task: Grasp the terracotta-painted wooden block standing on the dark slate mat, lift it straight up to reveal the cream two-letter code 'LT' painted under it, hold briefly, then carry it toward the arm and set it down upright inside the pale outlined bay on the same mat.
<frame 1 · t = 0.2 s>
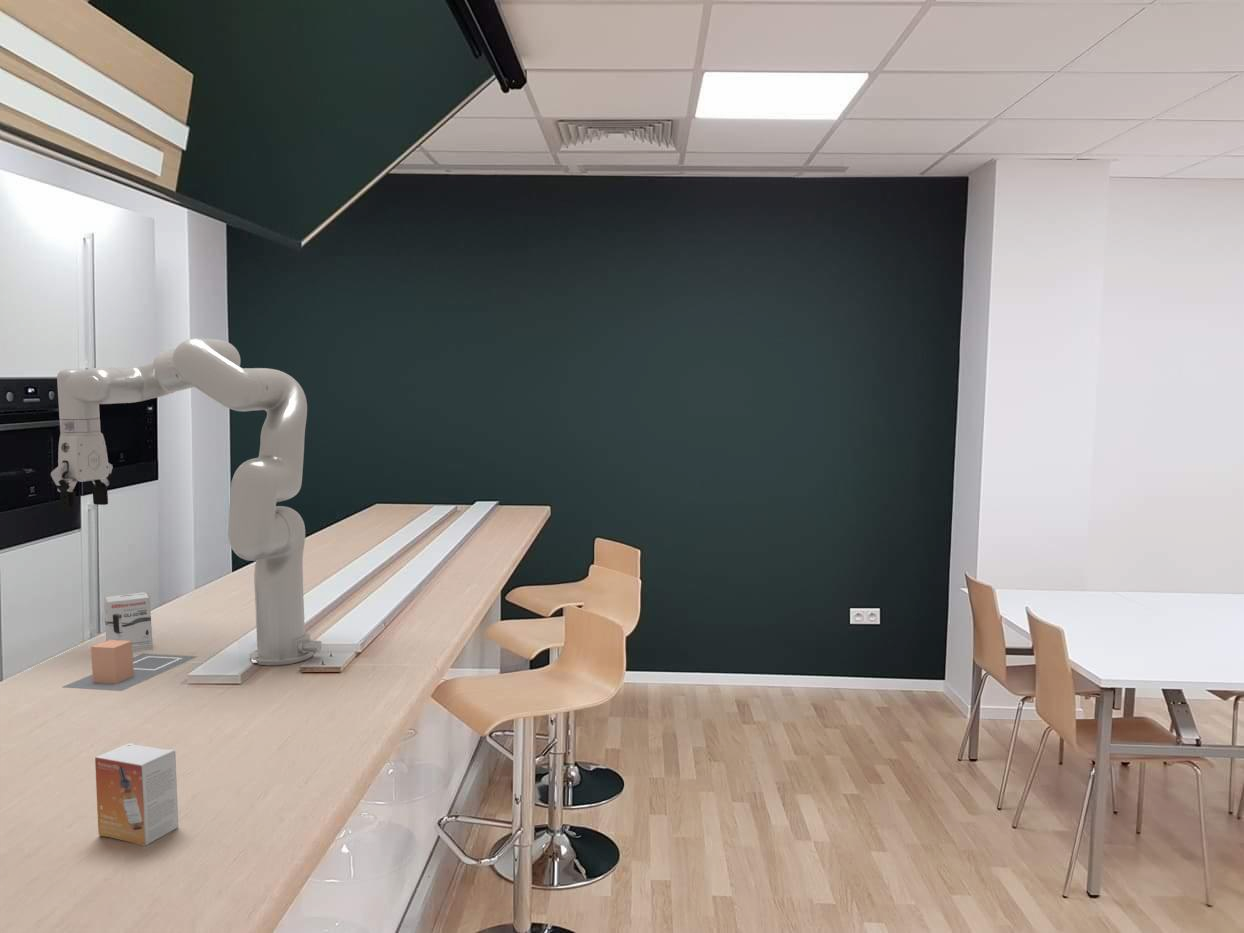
hand: (85, 507, 212), 31 cm above the table, fingers open, 9 cm apart
ink box: (130, 651, 213), on the table
code mat: (133, 672, 197), on the table
code block: (113, 679, 191), resting on code mat
small box: (139, 833, 127), on the table
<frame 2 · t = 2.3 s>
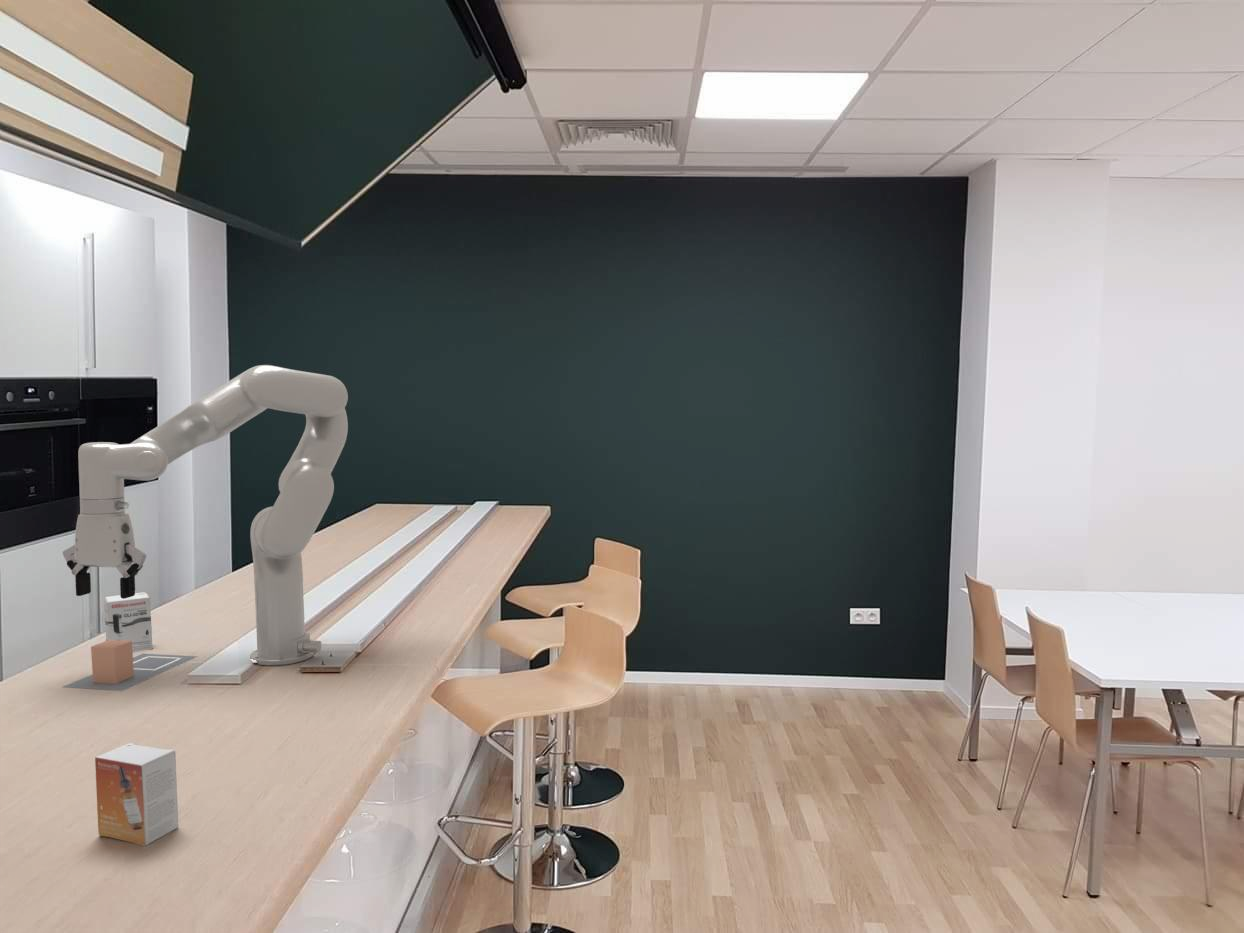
hand: (105, 595, 190), 17 cm above the table, fingers open, 9 cm apart
nothing on the table moved.
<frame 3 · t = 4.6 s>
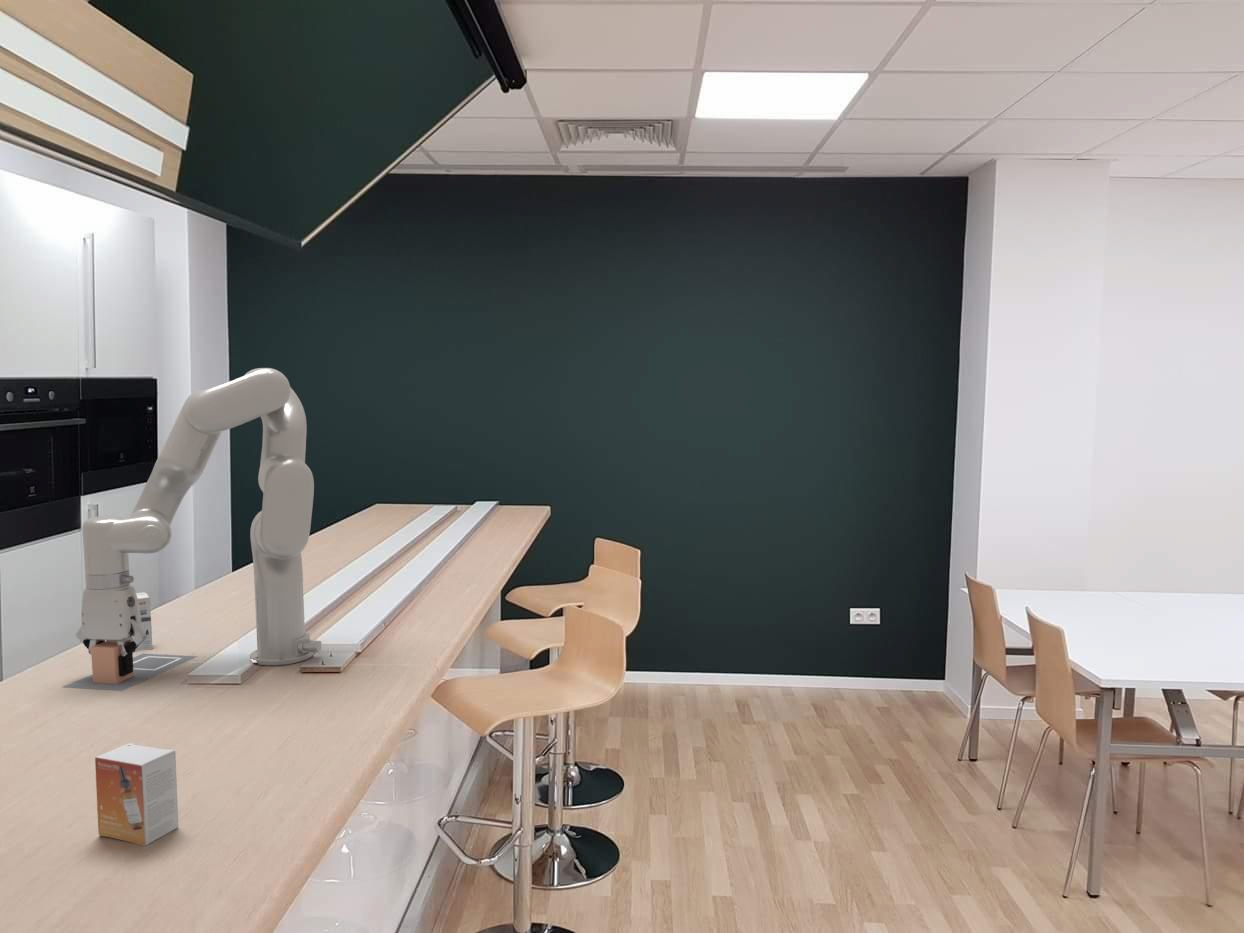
hand: (113, 672, 191), 2 cm above the table, fingers closed on code block, 5 cm apart
code block: (113, 679, 191), resting on code mat, touching gripper
everything else where it was.
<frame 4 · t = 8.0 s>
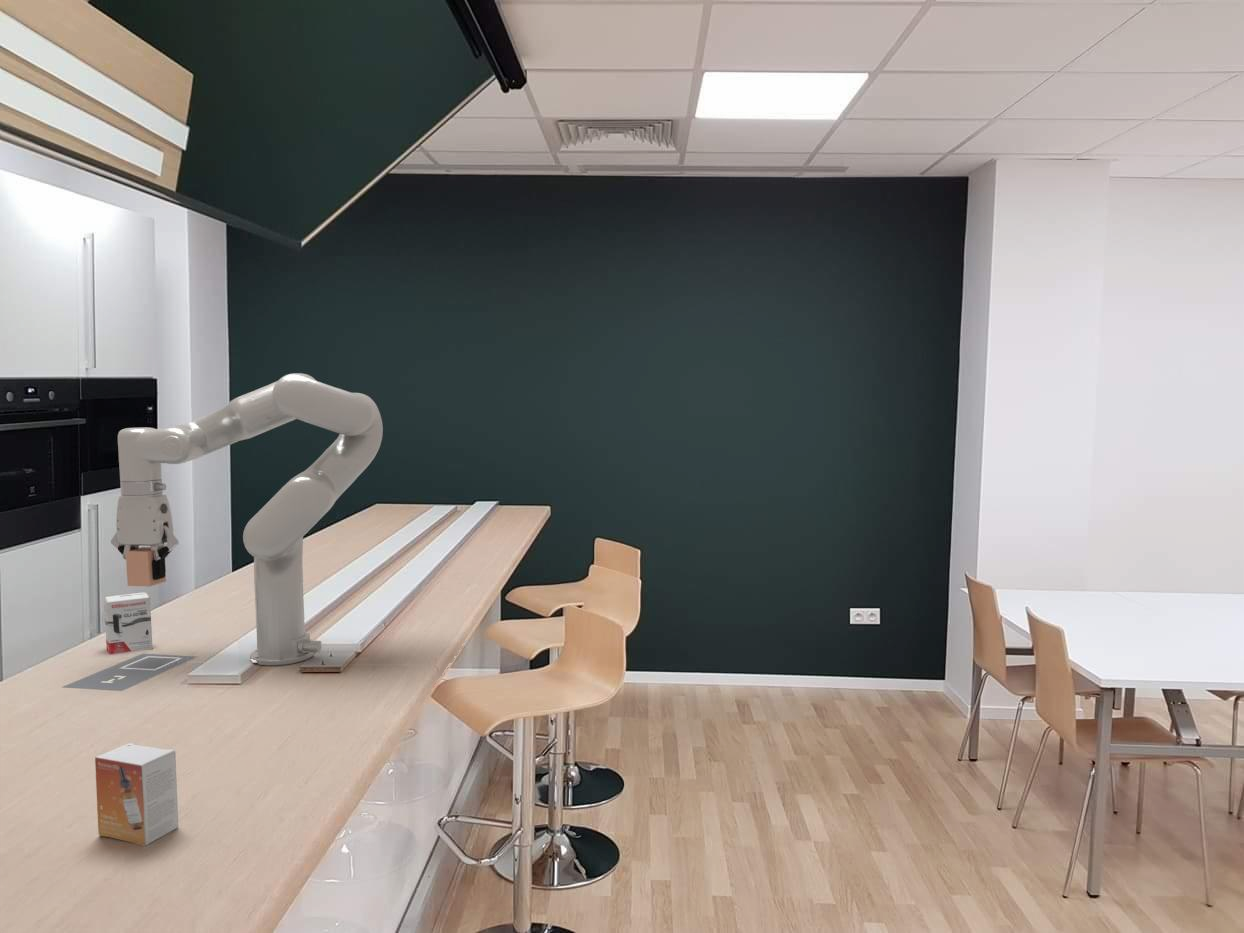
hand: (146, 577, 200), 18 cm above the table, fingers closed on code block, 5 cm apart
code block: (146, 583, 201), point 17 cm above the table, touching gripper
everything else where it was.
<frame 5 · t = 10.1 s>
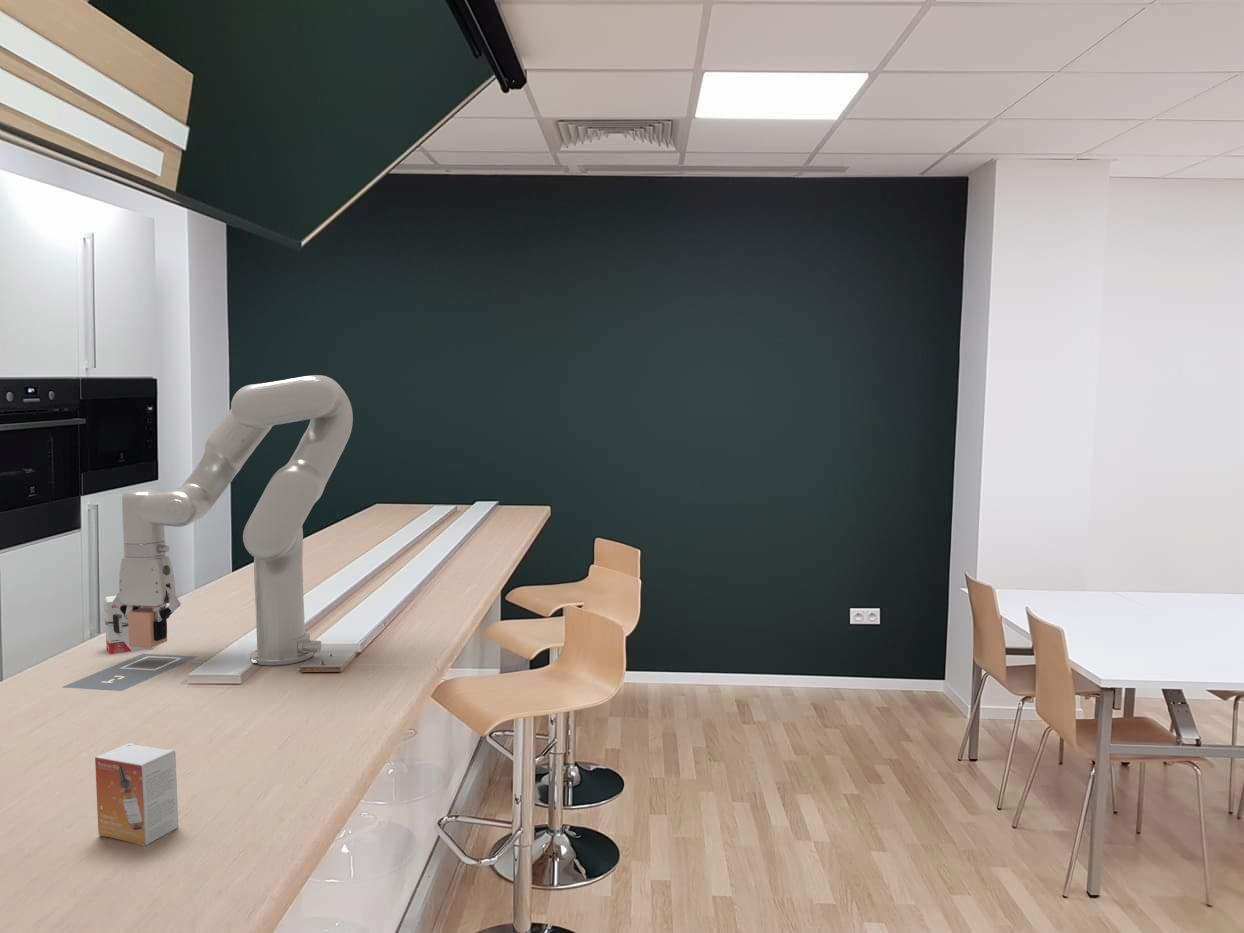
hand: (148, 637, 202), 6 cm above the table, fingers closed on code block, 5 cm apart
code block: (148, 643, 202), point 4 cm above the table, touching gripper
everything else where it was.
when the fingers open (3 cm above the table, at t = 11.6 s): code block stays where it is, resting on code mat.
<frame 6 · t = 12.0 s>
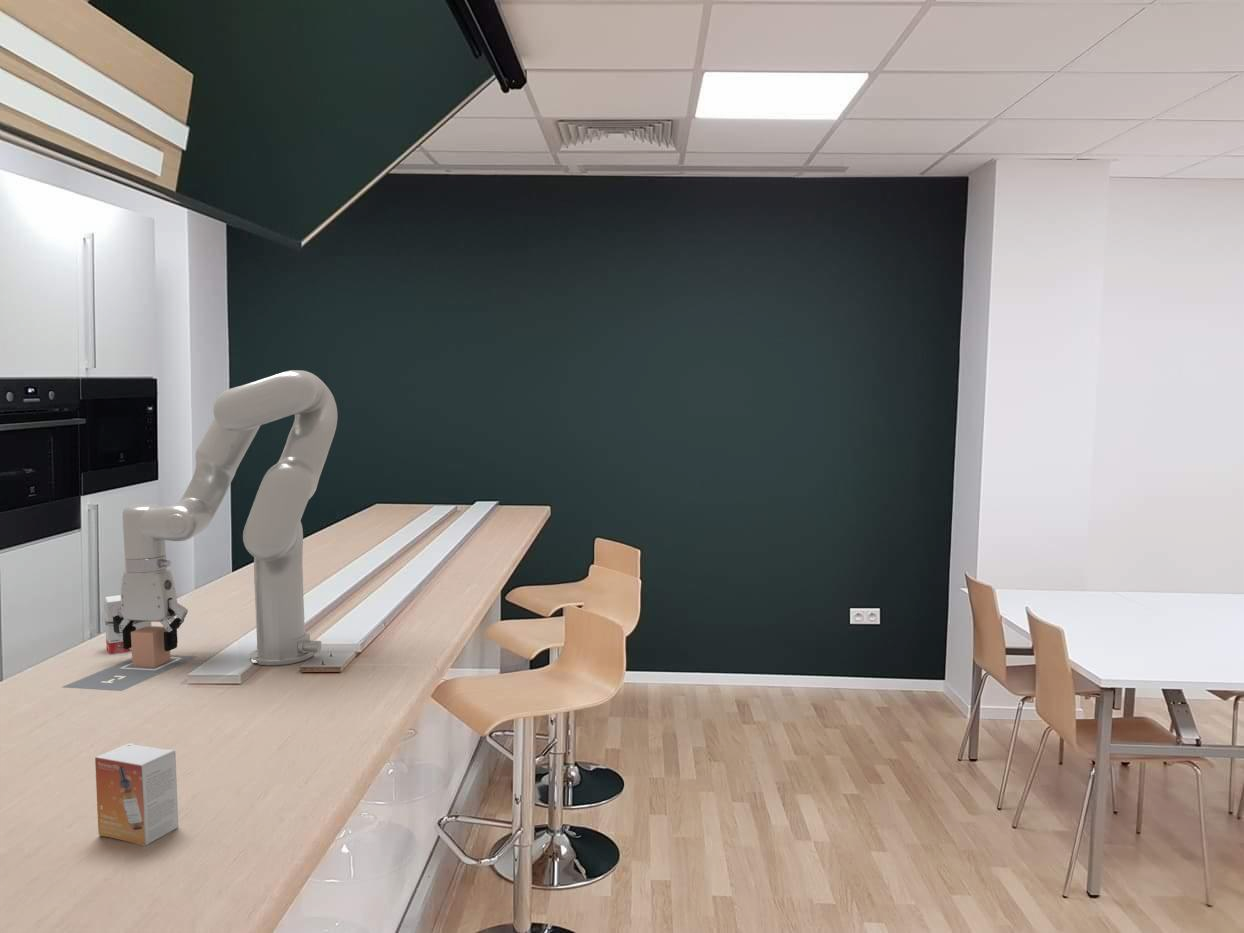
hand: (150, 648, 202), 3 cm above the table, fingers open, 9 cm apart
code block: (151, 663, 202), resting on code mat
everything else where it was.
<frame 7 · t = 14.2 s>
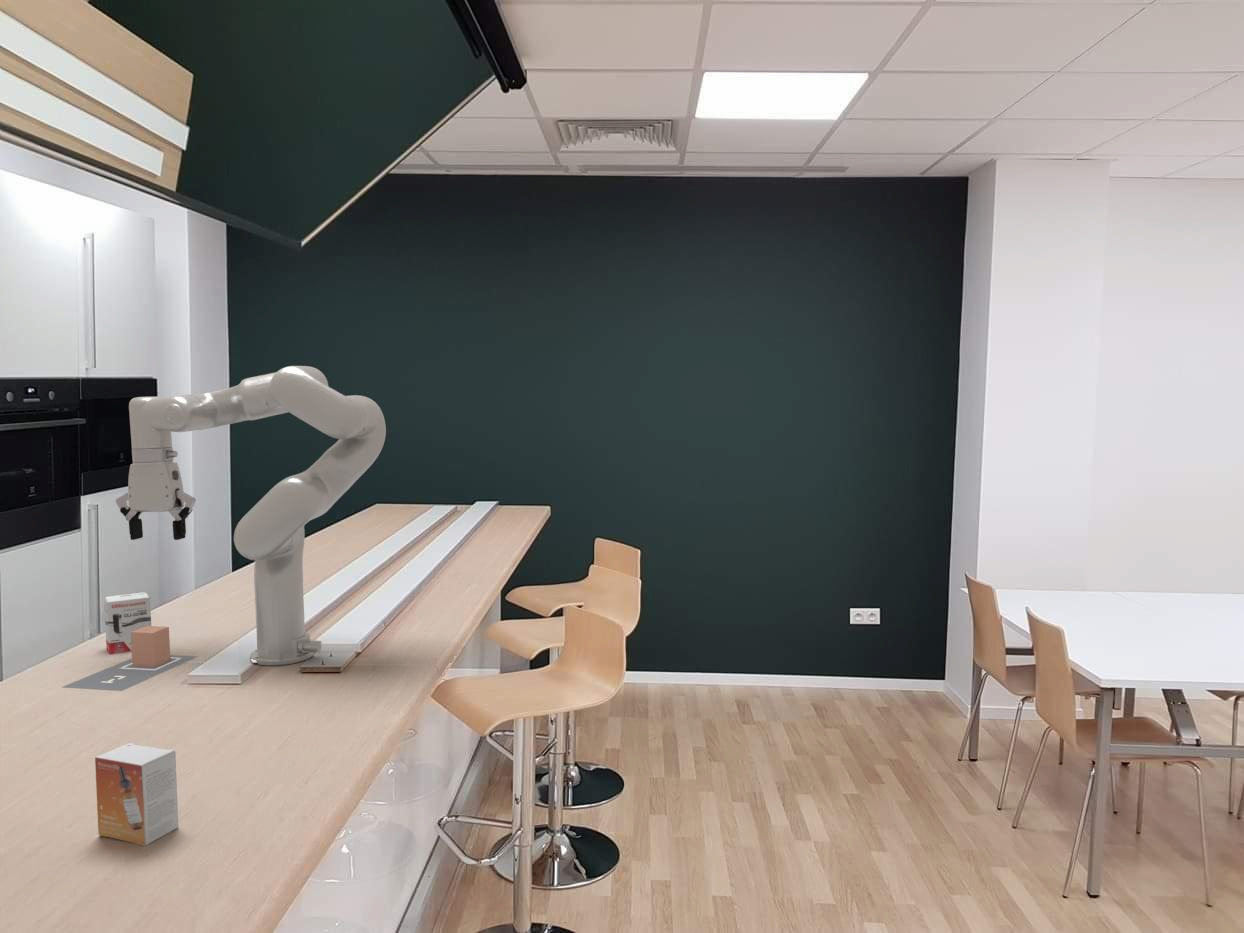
hand: (158, 538, 205), 25 cm above the table, fingers open, 9 cm apart
nothing on the table moved.
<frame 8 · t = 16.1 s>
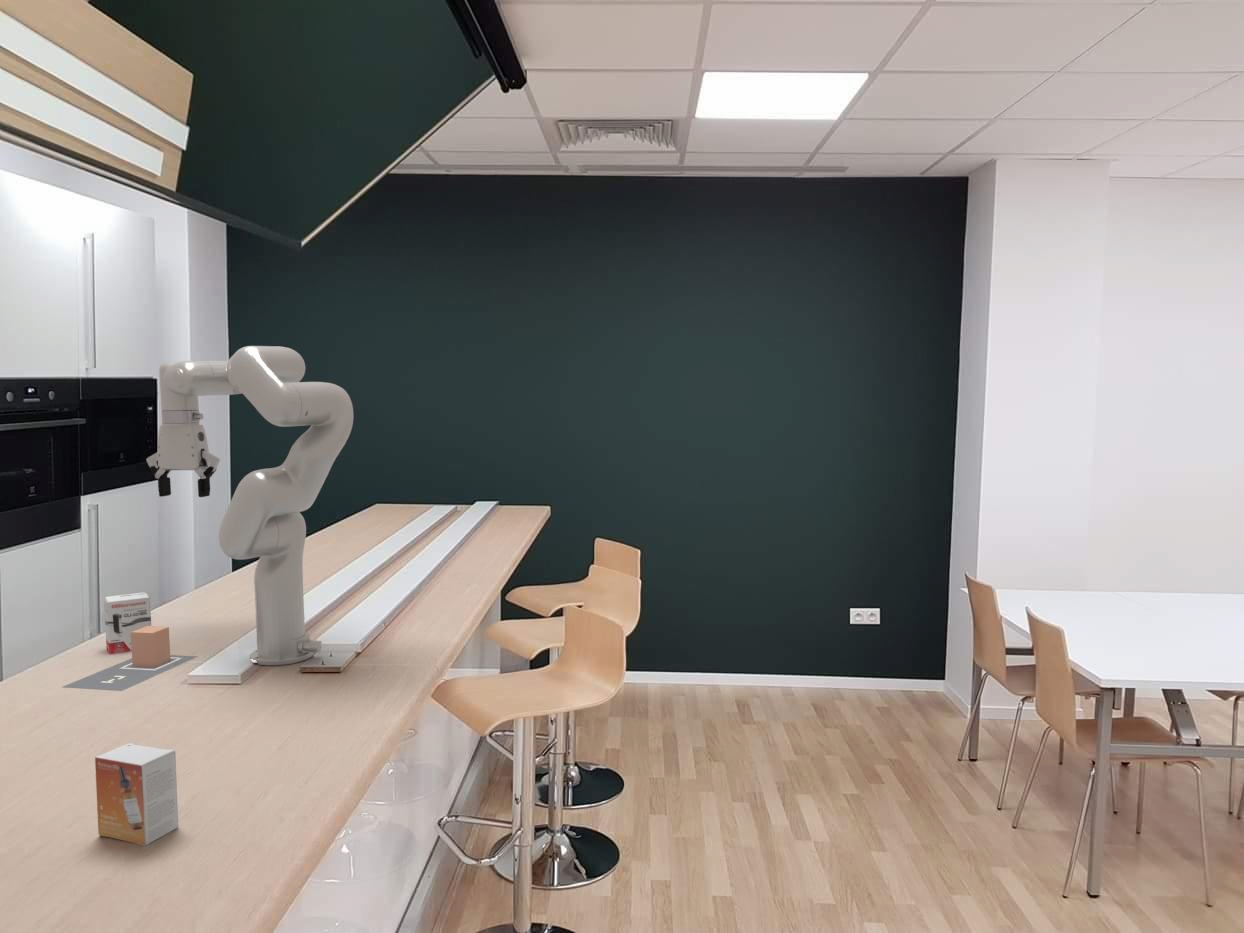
hand: (184, 496, 219), 32 cm above the table, fingers open, 9 cm apart
nothing on the table moved.
at the end: code block inside the target area (0.1 cm from its centre), resting on code mat; code block tilted 0°; the gripper is holding nothing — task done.
